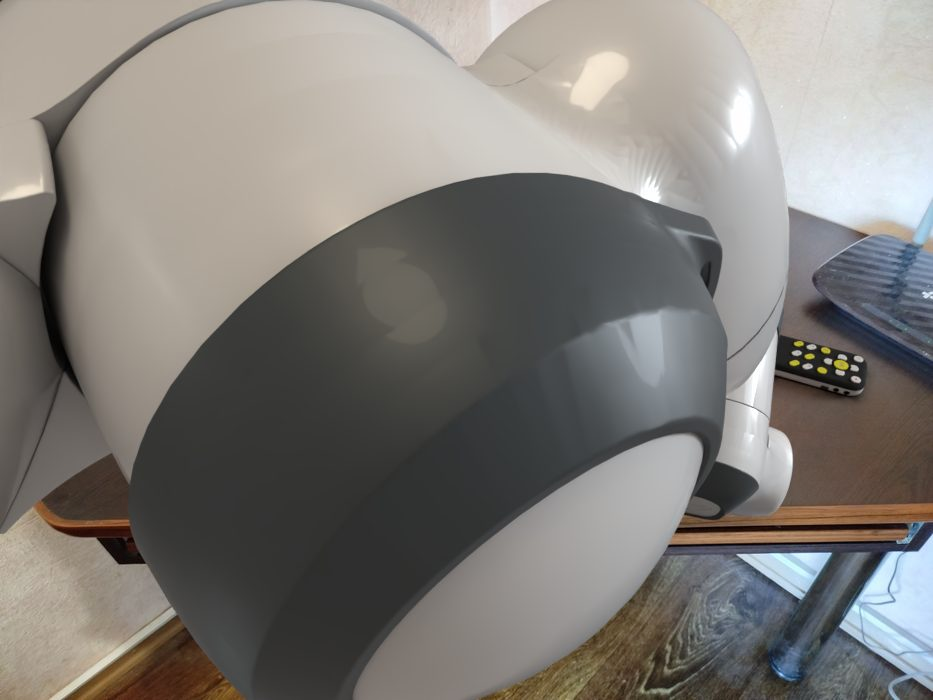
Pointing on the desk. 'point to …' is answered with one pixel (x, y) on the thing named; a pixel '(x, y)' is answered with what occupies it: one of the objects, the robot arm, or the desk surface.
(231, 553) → the robot arm
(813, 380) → the remote control
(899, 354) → the desk surface
